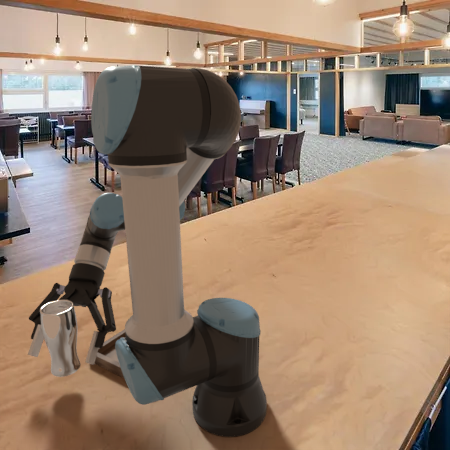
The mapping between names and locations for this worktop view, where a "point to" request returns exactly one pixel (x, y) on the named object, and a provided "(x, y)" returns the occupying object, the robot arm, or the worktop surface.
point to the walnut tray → (110, 355)
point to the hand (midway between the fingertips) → (60, 359)
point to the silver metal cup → (60, 336)
